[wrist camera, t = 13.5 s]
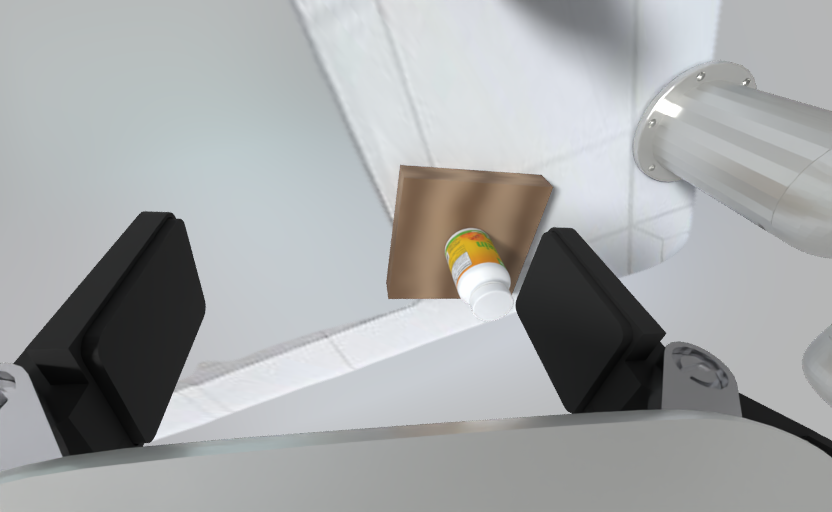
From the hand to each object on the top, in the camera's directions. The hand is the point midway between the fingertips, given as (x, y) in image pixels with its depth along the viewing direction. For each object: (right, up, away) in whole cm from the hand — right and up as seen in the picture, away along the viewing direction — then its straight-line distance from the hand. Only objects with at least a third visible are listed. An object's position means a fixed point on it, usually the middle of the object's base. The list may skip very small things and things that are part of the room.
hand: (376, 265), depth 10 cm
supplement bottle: (+7, +1, +33) cm, 33 cm away
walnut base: (+6, +3, +35) cm, 35 cm away
